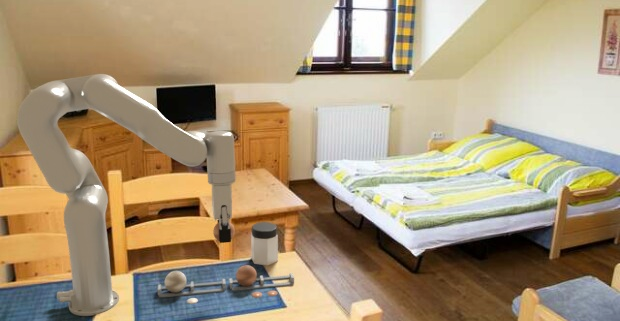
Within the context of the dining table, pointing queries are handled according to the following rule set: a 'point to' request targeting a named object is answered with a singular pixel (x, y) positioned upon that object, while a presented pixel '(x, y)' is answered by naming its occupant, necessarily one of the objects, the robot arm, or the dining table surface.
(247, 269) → the terracotta ball
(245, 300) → the dining table surface
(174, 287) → the cream ball
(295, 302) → the dining table surface
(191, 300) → the tiles
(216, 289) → the grey ball rail
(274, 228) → the jar
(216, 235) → the terracotta ball
